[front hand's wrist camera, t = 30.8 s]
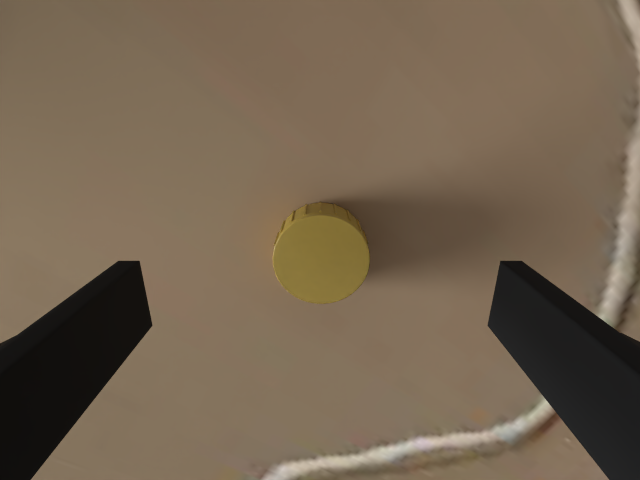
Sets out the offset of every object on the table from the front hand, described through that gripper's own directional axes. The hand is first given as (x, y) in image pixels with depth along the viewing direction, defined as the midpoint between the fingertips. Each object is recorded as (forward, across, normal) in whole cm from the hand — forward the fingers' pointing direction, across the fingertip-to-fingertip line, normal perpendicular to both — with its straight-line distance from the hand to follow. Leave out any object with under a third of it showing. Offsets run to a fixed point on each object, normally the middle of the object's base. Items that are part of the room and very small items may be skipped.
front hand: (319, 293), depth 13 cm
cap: (+2, 0, 0) cm, 3 cm away
